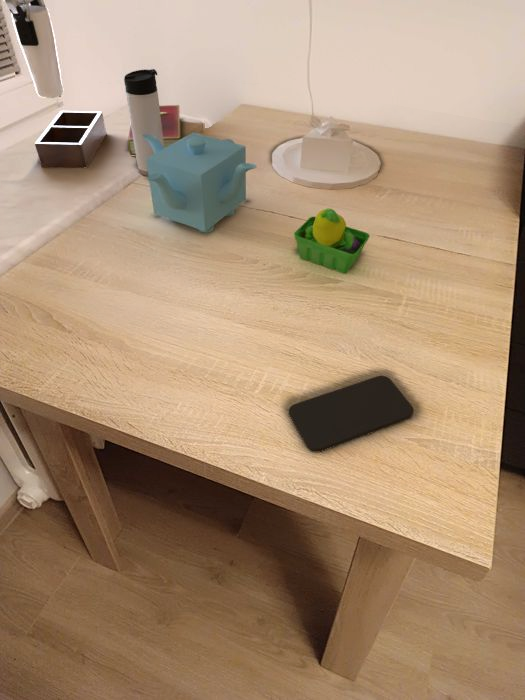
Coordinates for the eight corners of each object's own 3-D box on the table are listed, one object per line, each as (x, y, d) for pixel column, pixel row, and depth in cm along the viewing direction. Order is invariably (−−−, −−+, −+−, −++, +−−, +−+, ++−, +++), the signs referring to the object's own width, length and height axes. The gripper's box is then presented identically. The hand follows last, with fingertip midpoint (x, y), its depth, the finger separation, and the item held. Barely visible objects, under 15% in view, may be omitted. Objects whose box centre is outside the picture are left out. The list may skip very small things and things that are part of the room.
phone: (285, 406, 64) (385, 372, 68) (285, 410, 64) (384, 376, 68) (312, 452, 59) (417, 413, 63) (311, 456, 59) (416, 417, 64)
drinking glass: (71, 89, 107) (52, 5, 96) (63, 100, 102) (42, 13, 91) (39, 89, 107) (16, 5, 96) (30, 100, 102) (4, 13, 91)
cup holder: (41, 167, 112) (34, 143, 108) (66, 132, 126) (60, 110, 122) (86, 168, 112) (81, 144, 108) (106, 133, 126) (102, 111, 122)
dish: (380, 193, 106) (390, 140, 98) (263, 183, 108) (265, 130, 100) (379, 146, 123) (388, 98, 115) (279, 138, 126) (281, 89, 118)
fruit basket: (366, 258, 89) (378, 200, 81) (346, 284, 83) (357, 224, 75) (309, 239, 93) (315, 182, 85) (286, 263, 87) (290, 204, 79)
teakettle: (236, 188, 106) (235, 117, 96) (258, 235, 94) (259, 158, 83) (147, 198, 103) (135, 125, 92) (157, 248, 90) (144, 169, 80)
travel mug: (171, 173, 111) (160, 74, 97) (141, 178, 109) (125, 78, 95) (164, 162, 115) (152, 65, 101) (135, 166, 113) (119, 68, 99)
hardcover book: (129, 156, 117) (126, 138, 114) (134, 122, 131) (132, 105, 128) (181, 154, 118) (179, 136, 115) (180, 120, 133) (179, 104, 130)
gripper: (2, -86, 91) (32, 28, 103) (-39, -76, 79) (0, 52, 91) (44, -85, 91) (68, 29, 104) (8, -75, 79) (41, 53, 91)
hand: (36, 39), depth 97 cm, fingers closed on drinking glass, 6 cm apart
